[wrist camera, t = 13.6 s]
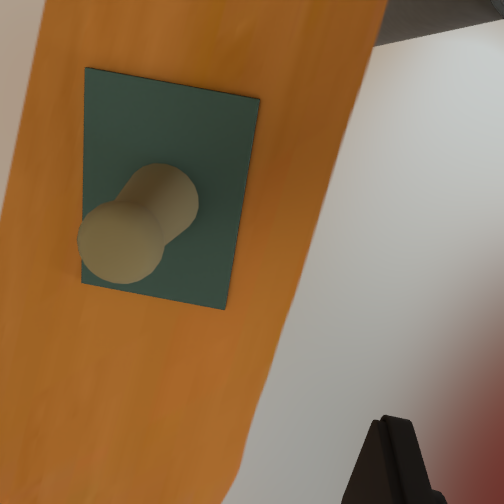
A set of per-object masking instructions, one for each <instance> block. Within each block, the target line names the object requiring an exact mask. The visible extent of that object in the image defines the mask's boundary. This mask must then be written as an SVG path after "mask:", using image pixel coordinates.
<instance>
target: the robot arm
mask: <svg viewBox="0 0 504 504" xmlns="http://www.w3.org/2000/svg"><path fill="white" fill-rule="evenodd" d="M341 504H447V502H446V500H445V497H444V496H443V495H442V493H441V492H439V491H436V490H432V489H431V485H430V482H429V479H428V475H427V472H426V468H425V465H424V461H423V458H422V455H421V451H420V448H419V444H418V441H417V438H416V434H415V431H414V428H413V425H412V422H411V421H410V420H407V419H402V418H398V417H393V416H388V415H383V416H382V418H381V420H380V421H379V420H373V421H372V423H371V426H370V428H369V431H368V434H367V436H366V439H365V441H364V444H363V447H362V449H361V452H360V454H359V457H358V459H357V462H356V464H355V467H354V470H353V472H352V475H351V477H350V480H349V483H348V485H347V488H346V490H345V493H344V495H343V498H342V502H341Z"/></svg>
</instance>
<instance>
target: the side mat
mask: <svg viewBox="0 0 504 504" xmlns="http://www.w3.org/2000/svg"><path fill="white" fill-rule="evenodd" d="M259 102H260V99H256V98H251V97H246V96H240V95H235V94H229V93H224V92H219V91H213V90H208V89H202V88H197V87H191V86H186V85H181V84H175V83H170V82H164V81H159V80H153V79H148V78H143V77H137V76H132V75H126V74H121V73H115V72H110V71H105V70H99V69H94V68H88V67H85V92H84V154H83V215H82V222H83V220H84V219H85V217H86V215H87V214H88V213H89V212H91V211H92V210H93V209H95V208H96V207H97V206H99V205H100V204H103V203H106V202H110V201H113V200H115V199H116V197H117V196H118V195H119V193H120V192H121V190H122V189H123V188H124V186H125V185H126V183H127V182H128V181H129V179H130V178H131V176H132V175H133V174H134V173H135V172H136V171H137V170H139V169H140V168H142V167H143V166H146V165H150V164H153V163H160V164H168V165H171V166H173V167H176V168H178V169H179V170H181V171H182V172H183V173H185V174H186V175H187V176H188V177H189V179H190V180H191V181H192V183H193V184H194V186H195V188H196V191H197V194H198V203H199V208H198V211H197V214H196V218H195V219H194V220H193V222H192V223H191V225H190V226H189V227H188V228H187V229H185V230H184V231H183V232H182V233H180V234H179V235H178V236H177V237H175V238H174V239H173V240H171V241H170V242H169V243H168V244H166V245H165V247H164V252H163V255H162V259H161V261H160V262H159V264H158V265H157V266H156V268H155V269H154V271H153V272H152V273H151V274H149V275H148V276H146V277H144V278H143V279H141V280H139V281H137V282H133V283H129V284H120V283H112V282H109V281H106V280H103V279H101V278H99V277H98V276H96V275H95V274H93V273H92V272H91V271H90V270H89V269H88V267H87V266H86V265H85V264H84V262H83V260H82V277H81V283H84V284H90V285H95V286H100V287H105V288H111V289H116V290H121V291H126V292H132V293H137V294H142V295H147V296H153V297H158V298H163V299H169V300H174V301H179V302H184V303H190V304H195V305H200V306H205V307H211V308H216V309H221V310H225V306H226V300H227V294H228V288H229V282H230V276H231V270H232V264H233V258H234V252H235V246H236V240H237V234H238V228H239V222H240V216H241V210H242V204H243V198H244V192H245V186H246V180H247V174H248V168H249V162H250V156H251V150H252V144H253V138H254V132H255V126H256V120H257V114H258V108H259Z"/></svg>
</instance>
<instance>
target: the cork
mask: <svg viewBox="0 0 504 504" xmlns="http://www.w3.org/2000/svg"><path fill="white" fill-rule="evenodd" d="M198 208H199V203H198V194H197V191H196V188H195V186H194V184H193V183H192V181H191V180H190V179H189V177H188V176H187V175H186V174H185V173H183V172H182V171H181V170H179V169H178V168H176V167H173V166H171V165H168V164H160V163H153V164H150V165H146V166H143V167H142V168H140V169H139V170H137V171H136V172H135V173H134V174H133V175H132V176H131V178H130V179H129V181H128V182H127V183H126V185H125V186H124V188H123V189H122V190H121V192H120V193H119V195H118V196H117V197H116V199H115V200H113V201H110V202H106V203H103V204H100V205H99V206H97V207H96V208H95V209H93V210H92V211H91V212H89V213H88V214H87V215H86V217H85V219H84V220H83V222H82V223H81V225H80V227H79V231H78V236H77V244H78V250H79V254H80V256H81V258H82V260H83V262H84V264H85V265H86V266H87V267H88V269H89V270H90V271H91V272H92V273H93V274H95V275H96V276H98V277H99V278H101V279H103V280H106V281H109V282H112V283H120V284H129V283H133V282H137V281H139V280H141V279H143V278H144V277H146V276H148V275H149V274H151V273H152V272H153V271H154V269H155V268H156V266H157V265H158V264H159V262H160V261H161V259H162V255H163V252H164V247H165V245H166V244H168V243H169V242H170V241H171V240H173V239H174V238H175V237H177V236H178V235H179V234H180V233H182V232H183V231H184V230H185V229H187V228H188V227H189V226H190V225H191V223H192V222H193V220H194V219H195V218H196V214H197V211H198Z"/></svg>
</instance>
